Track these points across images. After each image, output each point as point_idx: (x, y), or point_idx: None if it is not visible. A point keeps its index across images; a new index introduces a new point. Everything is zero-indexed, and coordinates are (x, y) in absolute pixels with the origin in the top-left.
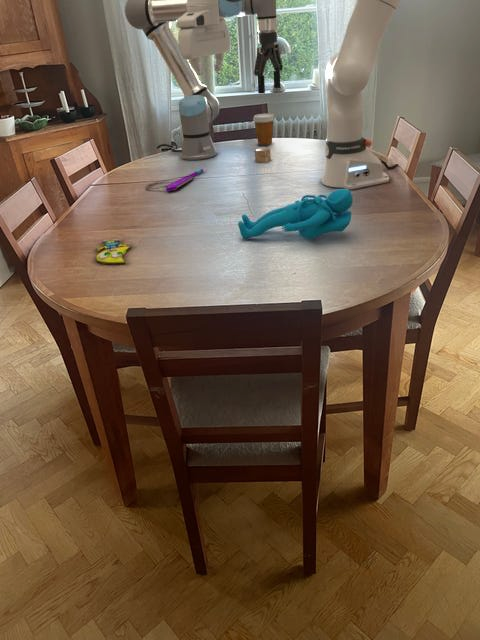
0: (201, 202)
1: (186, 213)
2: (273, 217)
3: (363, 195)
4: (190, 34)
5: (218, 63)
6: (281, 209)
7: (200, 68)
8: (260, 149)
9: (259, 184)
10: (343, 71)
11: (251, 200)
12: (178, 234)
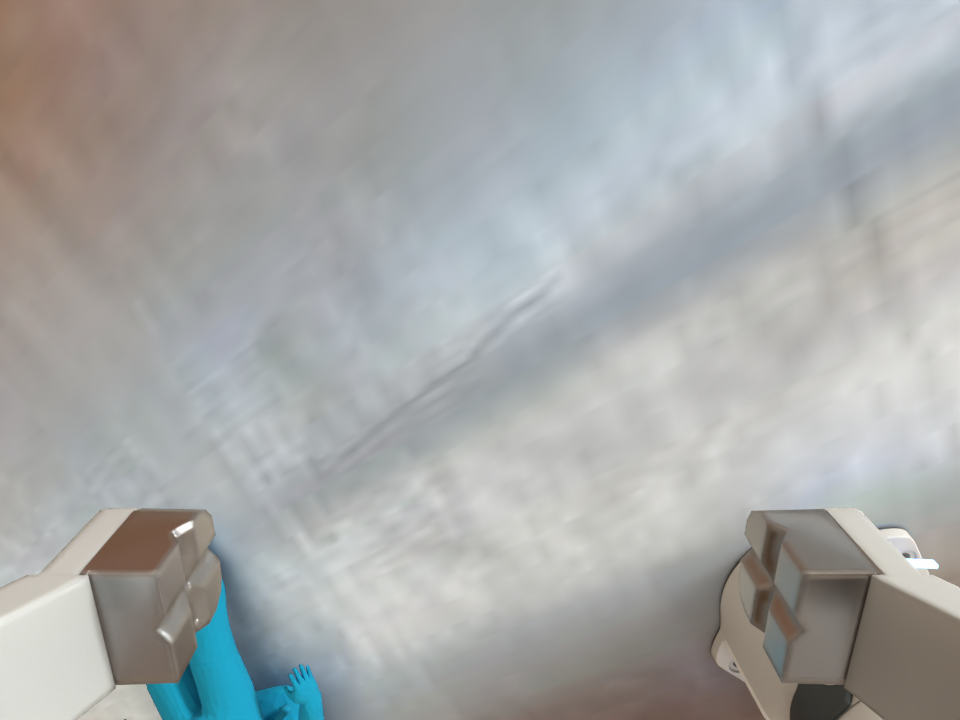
0: (356, 170)
1: (207, 197)
2: (149, 691)
3: (665, 702)
4: None
5: (866, 651)
6: (201, 699)
7: (95, 688)
8: None
9: (691, 293)
10: None
11: (474, 378)
12: (24, 321)
